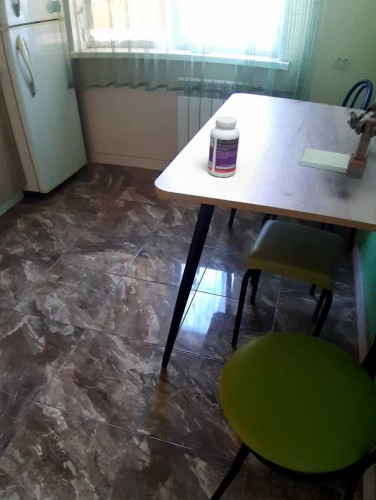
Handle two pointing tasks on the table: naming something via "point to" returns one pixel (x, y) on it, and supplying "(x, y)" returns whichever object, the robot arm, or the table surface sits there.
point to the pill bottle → (223, 147)
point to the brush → (361, 152)
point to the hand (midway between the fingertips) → (365, 131)
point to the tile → (325, 160)
